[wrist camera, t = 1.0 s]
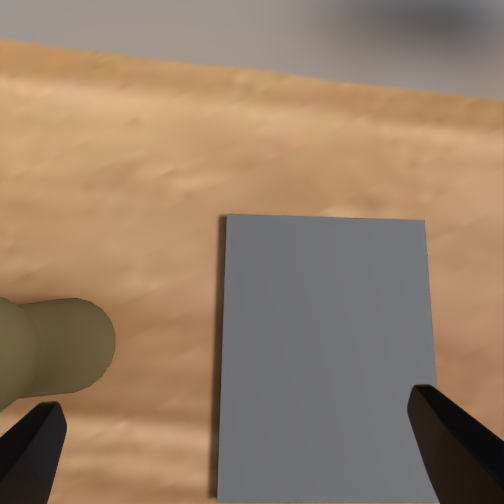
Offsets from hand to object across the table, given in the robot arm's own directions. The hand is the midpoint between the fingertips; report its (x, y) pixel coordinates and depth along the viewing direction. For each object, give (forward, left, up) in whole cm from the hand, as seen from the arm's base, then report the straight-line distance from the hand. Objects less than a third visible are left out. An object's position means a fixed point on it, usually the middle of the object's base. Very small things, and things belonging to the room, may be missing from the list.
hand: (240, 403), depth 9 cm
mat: (0, -6, -15) cm, 16 cm away
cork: (0, +11, -15) cm, 19 cm away
